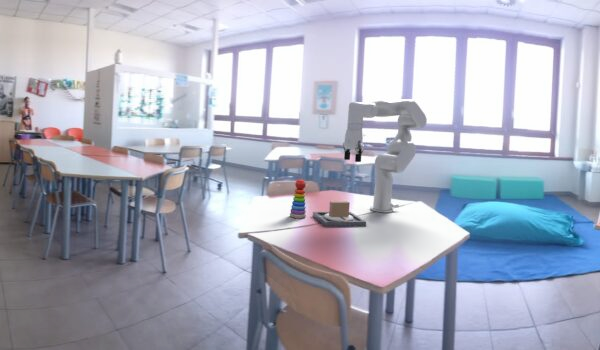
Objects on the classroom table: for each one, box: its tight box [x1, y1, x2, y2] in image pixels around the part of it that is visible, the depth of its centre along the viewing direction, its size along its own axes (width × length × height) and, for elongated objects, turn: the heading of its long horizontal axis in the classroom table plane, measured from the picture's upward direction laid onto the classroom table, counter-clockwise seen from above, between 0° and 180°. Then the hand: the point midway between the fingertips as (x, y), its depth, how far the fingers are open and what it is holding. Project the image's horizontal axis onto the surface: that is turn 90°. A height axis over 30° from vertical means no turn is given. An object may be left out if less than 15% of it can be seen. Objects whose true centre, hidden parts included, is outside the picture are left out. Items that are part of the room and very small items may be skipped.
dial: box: [324, 200, 353, 221], centre depth 190 cm, size 14×14×8 cm
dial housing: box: [312, 211, 367, 228], centre depth 191 cm, size 20×20×2 cm
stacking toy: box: [289, 178, 307, 219], centre depth 193 cm, size 8×8×19 cm
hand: (352, 160), depth 201 cm, fingers open, 9 cm apart
